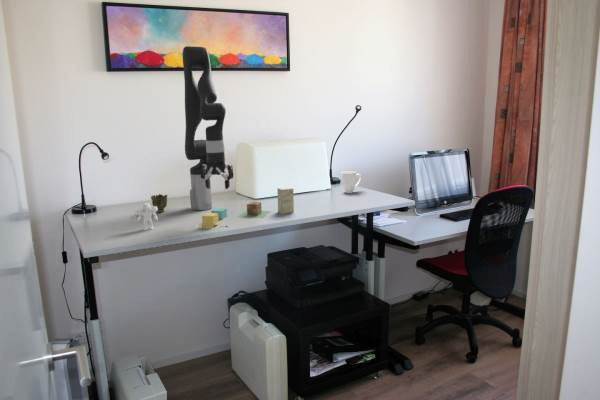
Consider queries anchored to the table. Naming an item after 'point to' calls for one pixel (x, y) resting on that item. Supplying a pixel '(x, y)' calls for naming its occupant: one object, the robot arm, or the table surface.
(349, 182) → the mug
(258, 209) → the walnut brick
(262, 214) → the plate
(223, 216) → the teal brick
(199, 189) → the robot arm
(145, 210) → the flower shoulder figurine
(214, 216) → the mustard brick
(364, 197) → the table surface
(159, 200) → the cup
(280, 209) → the skincare box
